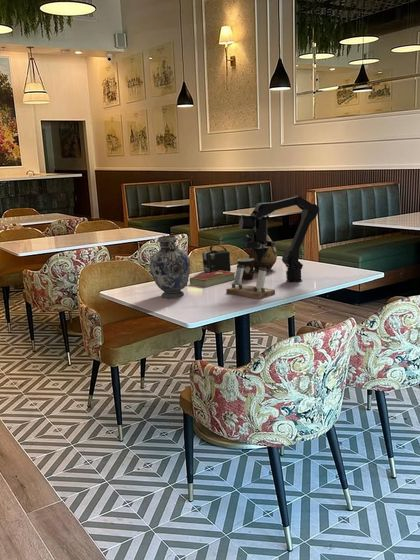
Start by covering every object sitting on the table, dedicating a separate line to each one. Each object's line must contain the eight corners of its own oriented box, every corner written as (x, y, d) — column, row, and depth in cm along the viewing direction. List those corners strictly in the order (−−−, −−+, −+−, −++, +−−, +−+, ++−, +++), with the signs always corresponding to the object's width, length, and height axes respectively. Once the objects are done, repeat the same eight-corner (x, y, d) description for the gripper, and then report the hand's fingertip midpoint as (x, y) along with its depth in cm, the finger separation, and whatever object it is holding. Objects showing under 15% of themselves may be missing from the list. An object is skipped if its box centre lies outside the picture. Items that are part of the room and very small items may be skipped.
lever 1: (236, 284, 248) (239, 265, 248) (240, 285, 246) (244, 265, 246) (233, 284, 247) (237, 264, 247) (238, 285, 244) (242, 265, 245)
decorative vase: (198, 297, 242) (192, 236, 236) (158, 303, 237) (151, 241, 232) (186, 288, 262) (181, 232, 257) (149, 293, 258) (143, 236, 252)
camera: (201, 271, 302) (199, 245, 299) (223, 268, 308) (221, 242, 305) (209, 274, 293) (207, 247, 290) (231, 270, 298) (230, 244, 295)
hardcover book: (190, 285, 271) (189, 277, 271) (220, 277, 285) (219, 269, 284) (205, 287, 263) (204, 279, 262) (235, 279, 276) (235, 272, 275)
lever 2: (258, 288, 238) (261, 267, 238) (263, 289, 235) (267, 268, 236) (255, 287, 236) (259, 267, 237) (260, 288, 234) (264, 267, 234)
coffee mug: (236, 280, 273) (235, 261, 270) (241, 276, 280) (240, 258, 278) (257, 280, 268) (256, 261, 266) (262, 277, 276) (261, 258, 274)
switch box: (243, 288, 254) (242, 280, 253) (275, 293, 239) (274, 285, 238) (226, 293, 246) (226, 285, 246) (258, 299, 232) (257, 290, 231)
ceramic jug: (279, 271, 286) (276, 216, 280) (250, 273, 287) (247, 218, 281) (275, 266, 303) (273, 213, 297) (248, 267, 303) (245, 215, 297)
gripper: (255, 229, 265) (254, 260, 267) (236, 229, 250) (235, 262, 252) (275, 229, 259) (274, 261, 261) (257, 230, 244) (256, 264, 246)
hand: (260, 262), depth 255 cm, fingers closed
